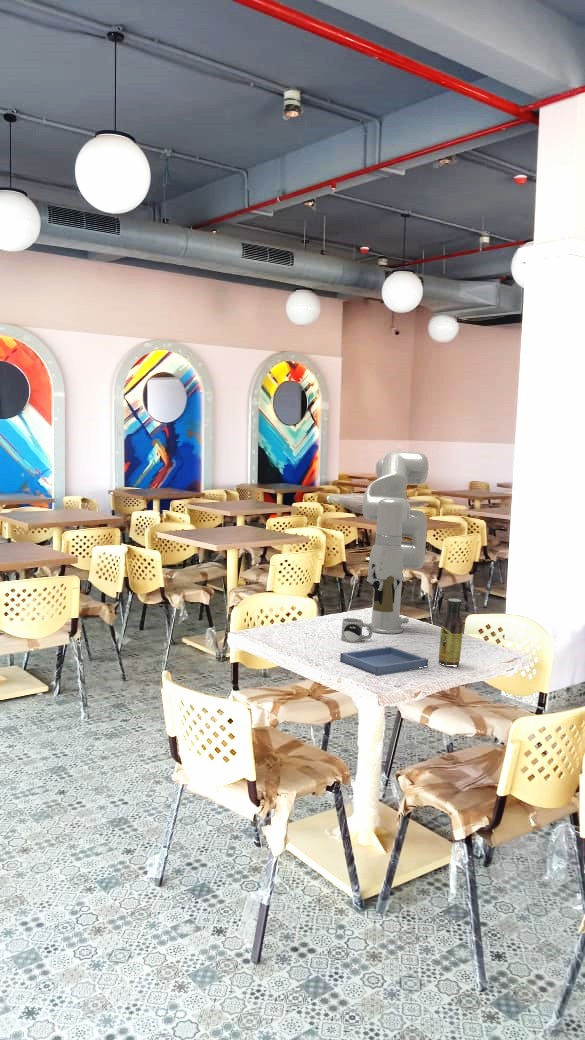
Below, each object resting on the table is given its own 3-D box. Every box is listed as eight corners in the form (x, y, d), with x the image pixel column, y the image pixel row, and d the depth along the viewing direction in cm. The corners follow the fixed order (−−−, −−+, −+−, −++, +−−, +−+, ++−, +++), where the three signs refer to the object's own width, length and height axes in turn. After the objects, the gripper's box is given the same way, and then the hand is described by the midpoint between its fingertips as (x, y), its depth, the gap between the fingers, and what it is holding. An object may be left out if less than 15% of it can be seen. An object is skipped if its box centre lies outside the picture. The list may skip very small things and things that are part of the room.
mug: (342, 642, 265) (343, 622, 264) (340, 637, 272) (341, 617, 271) (372, 644, 265) (374, 623, 265) (370, 639, 272) (371, 619, 271)
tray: (389, 654, 253) (390, 646, 253) (427, 667, 240) (428, 659, 240) (340, 661, 241) (340, 653, 241) (376, 675, 228) (377, 667, 228)
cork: (393, 609, 244) (395, 572, 243) (393, 612, 238) (396, 575, 237) (372, 607, 245) (375, 570, 244) (372, 611, 239) (375, 573, 238)
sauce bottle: (436, 661, 247) (441, 596, 246) (457, 663, 247) (462, 598, 245) (440, 667, 241) (445, 600, 239) (461, 668, 241) (466, 602, 239)
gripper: (400, 539, 248) (395, 599, 249) (358, 539, 238) (353, 602, 239) (417, 542, 242) (413, 603, 243) (375, 543, 232) (370, 607, 233)
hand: (383, 602), depth 241 cm, fingers closed on cork, 3 cm apart
